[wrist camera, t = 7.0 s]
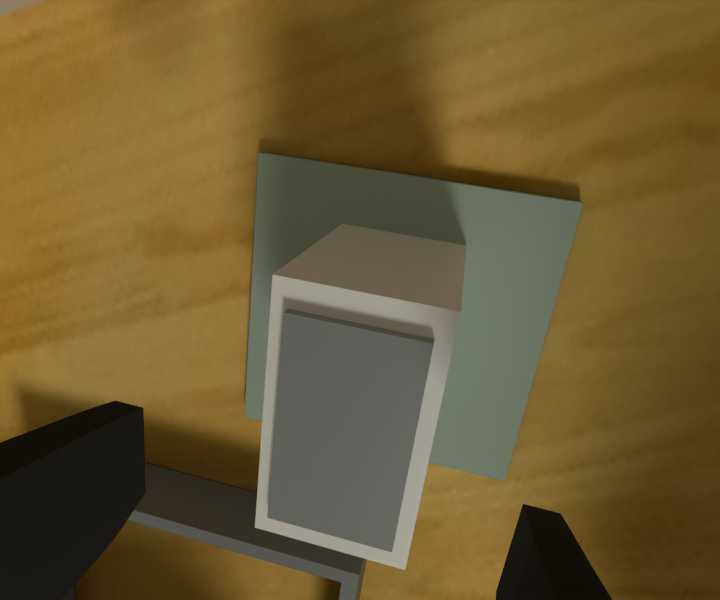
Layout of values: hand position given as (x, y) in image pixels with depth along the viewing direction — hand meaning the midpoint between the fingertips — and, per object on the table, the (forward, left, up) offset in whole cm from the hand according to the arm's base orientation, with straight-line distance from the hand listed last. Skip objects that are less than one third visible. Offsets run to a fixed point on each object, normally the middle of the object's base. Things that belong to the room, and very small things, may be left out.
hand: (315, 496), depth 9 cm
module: (0, 0, -8) cm, 8 cm away
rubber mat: (0, 0, -9) cm, 9 cm away
